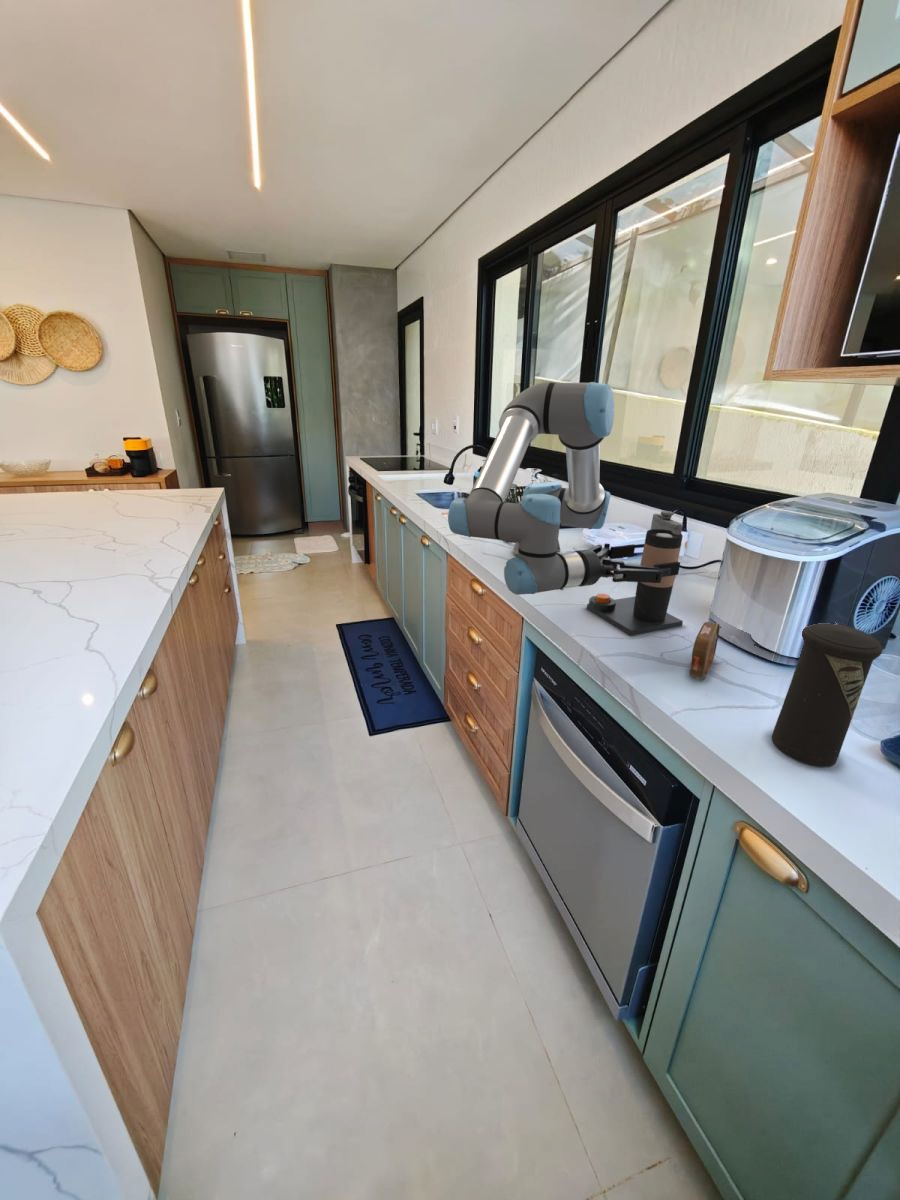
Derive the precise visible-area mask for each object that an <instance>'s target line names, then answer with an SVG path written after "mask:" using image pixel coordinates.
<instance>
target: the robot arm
mask: <svg viewBox="0 0 900 1200" xmlns="http://www.w3.org/2000/svg"><path fill="white" fill-rule="evenodd" d="M611 387H612V386H610V385H609V384H607V383H600V382H595V381H590V382H552V381H548V382H547V381H546V382H545V381H544V382H540V383H536V384H534V385H531V386H530V387H528V388H525V389H524V390H523V391H521V392H520V393H518V394H517V395H516V396H515V397H514V398H513V399H512V400H511V401H510V402H509V403H508V404H507V405H506V406H505V408H504V409H503V411H502V413H501V416H500V418H499V420H498V429H499V430H498V432H497V435H496V436H495V439H494V441H493V443H492V445H491V446H490V449H489V452H488V453H487V456H486V458H485V460H484V462H483V464H482V467H481V469H480V471H479V473H478V475H477V477H476V480H475V482H474V484H473V486H472V488H471V491H470V492H469V495H468V496H467V498H466V497H457V498H455V499H453V500H452V501H451V503H450V504H449V507H448V513H447V523H448V528H449V530H450V531H451V532H452V533H453V534H455V535H459V536H464V537H468V538H479V539H488V540H489V539H490V540H497V541H503V542H504V541H505V542H506V543H509V544H514V545H513V554H514V555H515V556H514V557H511V558H509V559H508V560H507V561H506V562H505V566H504V568H503V578H504V582H505V586H506V587H507V589H508V590H509V592H511V593H512V594H513V595H518V596H519V595H535V594H538V593H545V592H550V591H557V590H560V591H564V590H565V589H572V588H577V587H578V588H579V587H586V586H592V585H594V584H596V583H597V582H598V581H599V580H600V579H601V578H612V579H611V580H612V581H611V582H613V583H623V582H624V583H625V582H627V583H637V582H648V583H661V579H662V577H666V576H673V575H675V576H678V575H679V571H680V566H681V562H680V561H678V562H671V563H664V564H656V565H654V567H652V566H643V565H641V564H633V563H625V562H624V561H623V560H620V559H624V558H631V557H634V556H635V550H636V545H635V544H625V545H617V546H616V545H615V546H611V544H610V543H606V542H605V543H604V546H603V545H602V544H596V545H594V546H592V547H590V548H587V549H581V550H580V549H579V550H570V551H561V546H560V541H559V537H560V536H559V535H560V526H562V527H571V528H580V529H587V530H601V529H602V528H603V527H604V525H605V521H606V517H607V514H608V509H609V505H610V500H611V492H610V491H607V490H605V489H604V487H603V485H602V484H601V483H600V479H601V477H600V473H601V472H600V467H601V466H600V465H601V463H600V462H601V461H600V460H601V447H600V446H601V443H602V442H603V441H604V440H605V438H606V437H609V436H610V434H611V433H612V431H613V426H614V419H615V396H614V391H613V389H612V388H611ZM541 434H542V435H554V436H558V440H559V442H560V443H561V445H562V446H563V447H564V448H565V456H566V457H565V458H566V470H567V481H568V486H567V487H563V483H562V482H560V481H543V482H542V481H541V482H535V483H530V484H528V485H526V486H525V488H524V489H523V496H522V499H521V502H520V503H516V502H506V501H507V497H508V496H509V493H510V491H511V488H512V486H513V483H514V481H515V478H516V476H517V474H518V471H519V469H520V466H521V464H522V462H523V459H524V457H525V454H526V452H527V449H528V447H529V444H530V443H531V442H533V441H534V440H535V439H536V438H537V436H538V435H541ZM618 559H619V560H618ZM618 566H619V567H618Z"/></svg>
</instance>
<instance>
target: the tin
mask: <svg viewBox="0 0 900 1200" xmlns="http://www.w3.org/2000/svg"><path fill="white" fill-rule="evenodd" d="M719 633H720V623H715V622H709V621H705V622H704V623H703V624H702V626H701V628H700V629H699V631H698V633H697V635H696V637H695V640H694V643H693V646H692V651H691V663H690V668H689V670H688V671H689V673H688V674H689V676H690V677H693V678H696V679H700V680H703V681H705V680H706V678H707V676H708V674H709V671H710V669H711V667H712V664H713V662H714V659H715V655H716V650H717V647H718V646H717V645H718V641H719V636H720V635H719Z"/></svg>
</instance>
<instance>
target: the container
mask: <svg viewBox="0 0 900 1200" xmlns="http://www.w3.org/2000/svg"><path fill="white" fill-rule="evenodd" d="M802 637H803V640H804V645H803V648H802V651H801V654H800V657H799V659H797V664H796V666H795V669H794V672H793V675H792V678H791V681H790V683H789V687H788V689H787V691H786V692H787V693H786V695H785V698H784V701H783V703H782V705H781V709H780V711H779V713H778V714H779V715H778V717H777V719H776V723H775V725H774V728H773V731H772V734H771V741H772V743H773V745H774V747H775V748H776V749H777V750H779V751H780V752H781V753H782V754H784V755H786V756H787V757H789V758H791V759H792V760H795V761H796V762H800V763H802V764H805V765H808V766H812V767H817V768H827V767H828V768H829V767H833V766H834V765H835V764H836V763H837V761H838V759H839V756H840V753H841V750H842V747H843V745H844V742H845V739H846V737H847V733H848V731H849V728H850V725H851V722H852V719H853V717H854V713H855V711H856V709H857V705H858V702H859V700H860V697H861V694H862V691H863V690H864V686H865V683H866V681H867V678H868V675H869V673H870V670H871V668H872V664H873V662H874V661H875V660H876V659H877V658H879V657H880V656H881V655H882V653H883V646H882V644H881V642H879V640H878V639H877V638H875V637H874V636H872V635H871V634H869V633H868V632H865V631H862V630H860V629H857V628H854V627H851V626H847V625H843V624H839V623H836V624H830V623H818V624H813V625H810V626H807V627H805V628H804V629H803V631H802Z"/></svg>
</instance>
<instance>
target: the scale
mask: <svg viewBox="0 0 900 1200" xmlns="http://www.w3.org/2000/svg"><path fill="white" fill-rule="evenodd" d="M634 603H635V596H630V597H623V598H617V599H614V598H612V597H610V601H609V603H606V604H605V603H599V602H596V595H592V596H591V597H589V598H588V603H587V604H586V610H587V611H589V612H590V613H592V614H594V615H596V616H597V617H599V618H600V619H602V620H604V621H605V622H607V623H608V624H610V625H612V626H613V627H615V628H617V629H619V630H620V631H621V632H623V633H624V634H626V635H628V636H630V637H634V636H639V635H644V634H648V633H654V632H658V631H659V632H660V631H665V630H670V629H674V628H679V627H682V626H683V623H684V621H683V620H682V619H680V618H677V617H676V616H675V615H674V616H673V615H672V614H670V613H668V612H667V613H666V617H665V619H664V620H663V621H661V622H648V621H644V620H641V619H638V618H636V617H635V616H634V614H633V611H634Z"/></svg>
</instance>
